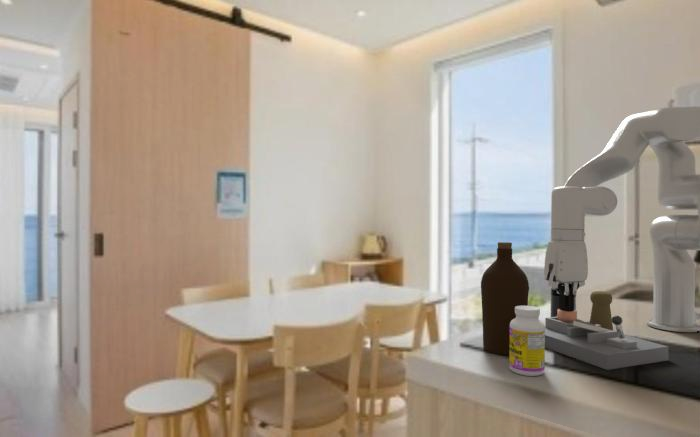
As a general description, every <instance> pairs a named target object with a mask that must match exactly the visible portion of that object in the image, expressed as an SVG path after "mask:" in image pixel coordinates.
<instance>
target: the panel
mask: <svg viewBox="0 0 700 437" xmlns="http://www.w3.org/2000/svg"><path fill="white" fill-rule="evenodd" d="M577 320H579V321H583V322H587V323H590V320H585V319H582V318H577ZM544 325H545V349H547V348H548V350H550V351H552V352H553V351H554V352H556V353H558V352H559V354H562V355H565V356H567V357H570V358H572V357H573V359H575V358H576V359H575V360H578V361H581V362H584V363H587V364H590V365H592V366H595V367H598V368H601V369H604V370H607V371H608V370H615V369H616V370H617V369H621V368H627V367H634V366H641V365H647V364H653V363H660V362H667V361H669V348H670V347H669V346H668V345H665V344H664V345H663V344H660V343H657V342H652V341H648V340H646V339H641V338H639V337H638V338H637V337H634V336H630V335H628V334H627V335H626V334H624V336H625V338H623V339H619V338H618V334H617V330H616V329H613V331H604V332H598V331H594V330H589V329H586V328H582V327H578V326H575V325H573V322H572V323H566V322H562V321H559V320H557V317H551V316H550V317H545V324H544ZM595 325H596V326H597V327H601V325H598V324H595Z"/></svg>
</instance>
